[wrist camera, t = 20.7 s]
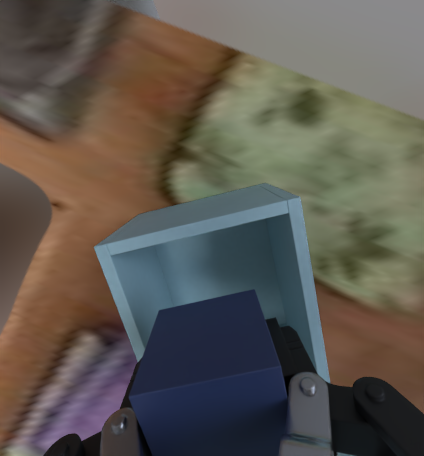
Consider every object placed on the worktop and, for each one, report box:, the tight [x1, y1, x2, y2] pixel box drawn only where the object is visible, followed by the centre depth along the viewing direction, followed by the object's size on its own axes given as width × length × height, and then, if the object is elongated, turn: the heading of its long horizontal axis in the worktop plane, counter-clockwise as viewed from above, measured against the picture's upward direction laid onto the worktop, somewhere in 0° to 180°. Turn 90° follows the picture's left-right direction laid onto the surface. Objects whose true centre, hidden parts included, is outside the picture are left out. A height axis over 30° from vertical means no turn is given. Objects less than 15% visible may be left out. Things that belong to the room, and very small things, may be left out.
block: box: [129, 289, 288, 456], centre depth 11 cm, size 5×5×5 cm
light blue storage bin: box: [94, 183, 330, 383], centre depth 22 cm, size 16×13×10 cm
